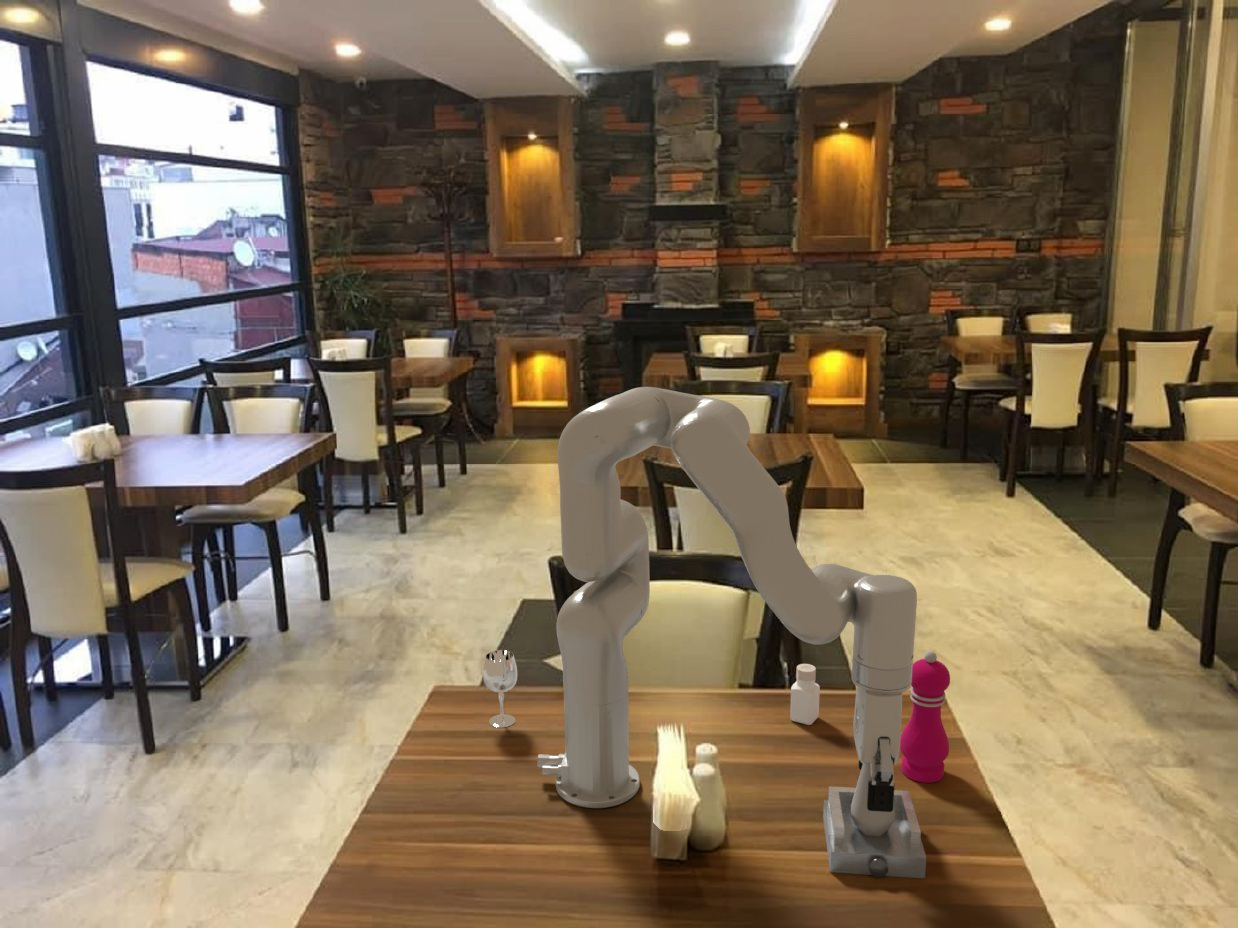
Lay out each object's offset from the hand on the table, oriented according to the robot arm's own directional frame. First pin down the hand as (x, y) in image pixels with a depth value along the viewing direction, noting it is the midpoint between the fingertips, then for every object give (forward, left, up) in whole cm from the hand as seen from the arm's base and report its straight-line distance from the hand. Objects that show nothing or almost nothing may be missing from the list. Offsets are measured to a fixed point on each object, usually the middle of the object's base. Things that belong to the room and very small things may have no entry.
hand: (874, 788), depth 133 cm
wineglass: (-58, +29, -9) cm, 65 cm away
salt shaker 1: (-7, +35, -9) cm, 37 cm away
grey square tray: (0, 0, -9) cm, 9 cm away
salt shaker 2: (0, 0, -6) cm, 6 cm away
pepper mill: (+10, +20, -9) cm, 24 cm away
